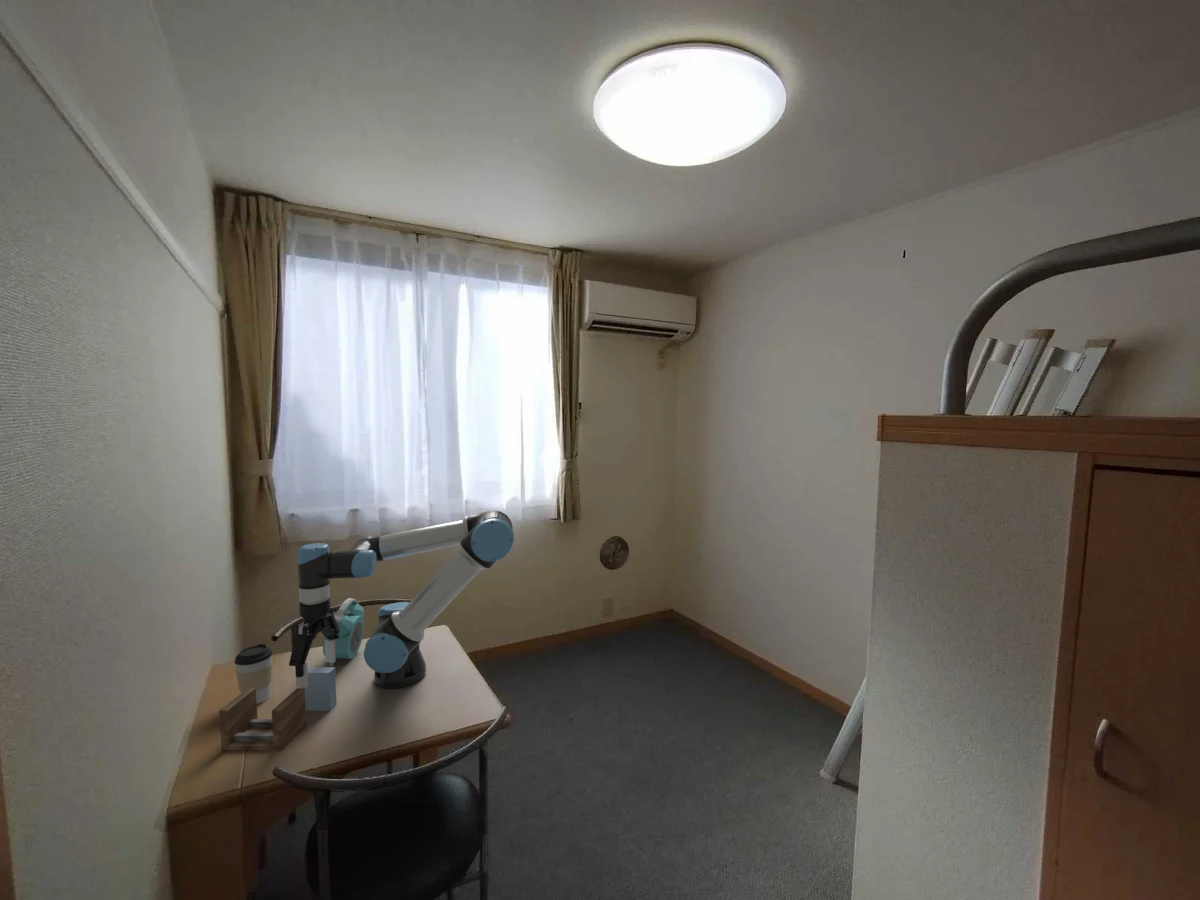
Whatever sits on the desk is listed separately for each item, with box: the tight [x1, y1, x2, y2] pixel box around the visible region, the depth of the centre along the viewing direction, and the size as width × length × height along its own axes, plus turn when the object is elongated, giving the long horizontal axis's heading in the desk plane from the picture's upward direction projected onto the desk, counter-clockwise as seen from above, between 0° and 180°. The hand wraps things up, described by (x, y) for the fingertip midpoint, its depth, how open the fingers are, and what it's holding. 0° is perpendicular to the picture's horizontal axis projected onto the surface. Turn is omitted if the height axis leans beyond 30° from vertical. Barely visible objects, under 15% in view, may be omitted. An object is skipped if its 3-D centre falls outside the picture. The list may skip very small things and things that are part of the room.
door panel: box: [305, 666, 338, 712], centre depth 140 cm, size 8×3×11 cm, turn 89°
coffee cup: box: [233, 643, 274, 705], centre depth 144 cm, size 9×9×15 cm
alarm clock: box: [322, 597, 365, 667], centre depth 168 cm, size 17×10×20 cm, turn 5°
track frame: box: [218, 687, 307, 751], centre depth 127 cm, size 15×10×10 cm, turn 89°
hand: (317, 673), depth 139 cm, fingers open, 13 cm apart
